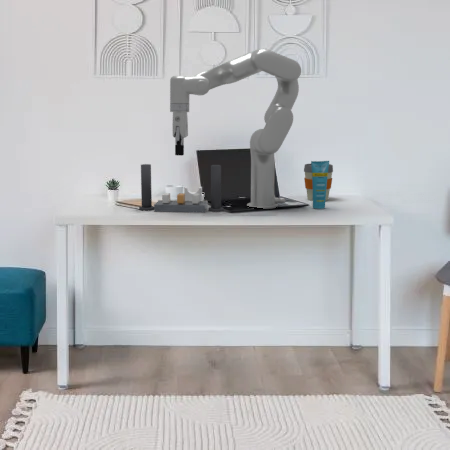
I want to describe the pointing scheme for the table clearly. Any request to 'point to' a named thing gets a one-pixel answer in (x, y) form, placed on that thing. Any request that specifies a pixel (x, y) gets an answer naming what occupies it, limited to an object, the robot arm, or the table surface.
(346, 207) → the table surface
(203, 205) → the breaker panel
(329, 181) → the reusable coffee cup
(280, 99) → the robot arm
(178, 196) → the block
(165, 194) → the white rectangular block
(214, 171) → the post
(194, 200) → the paddle
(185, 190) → the bracket
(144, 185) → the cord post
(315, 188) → the tube
